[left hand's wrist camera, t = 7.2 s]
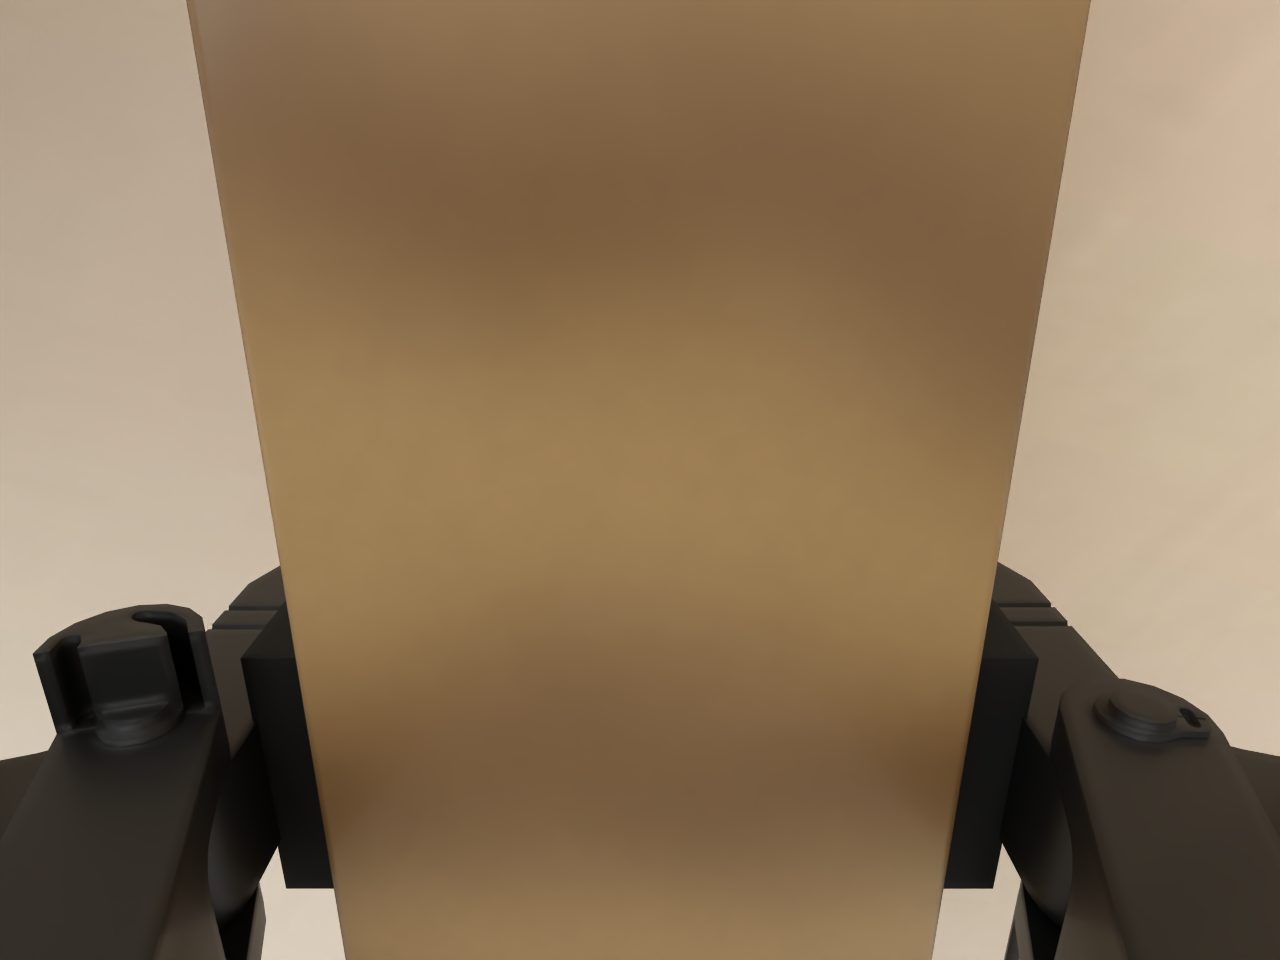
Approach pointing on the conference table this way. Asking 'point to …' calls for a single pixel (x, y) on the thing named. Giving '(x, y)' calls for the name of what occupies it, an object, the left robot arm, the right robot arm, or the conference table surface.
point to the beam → (638, 445)
